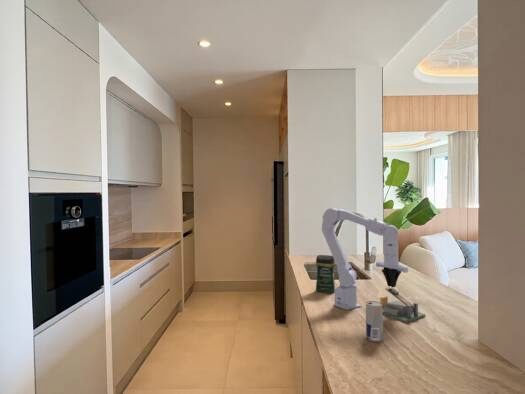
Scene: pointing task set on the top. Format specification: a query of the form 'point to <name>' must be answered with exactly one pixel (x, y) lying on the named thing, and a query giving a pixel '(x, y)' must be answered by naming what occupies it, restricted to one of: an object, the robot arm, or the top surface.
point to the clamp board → (408, 316)
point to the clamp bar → (399, 297)
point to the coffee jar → (325, 274)
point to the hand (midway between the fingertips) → (391, 286)
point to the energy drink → (374, 321)
